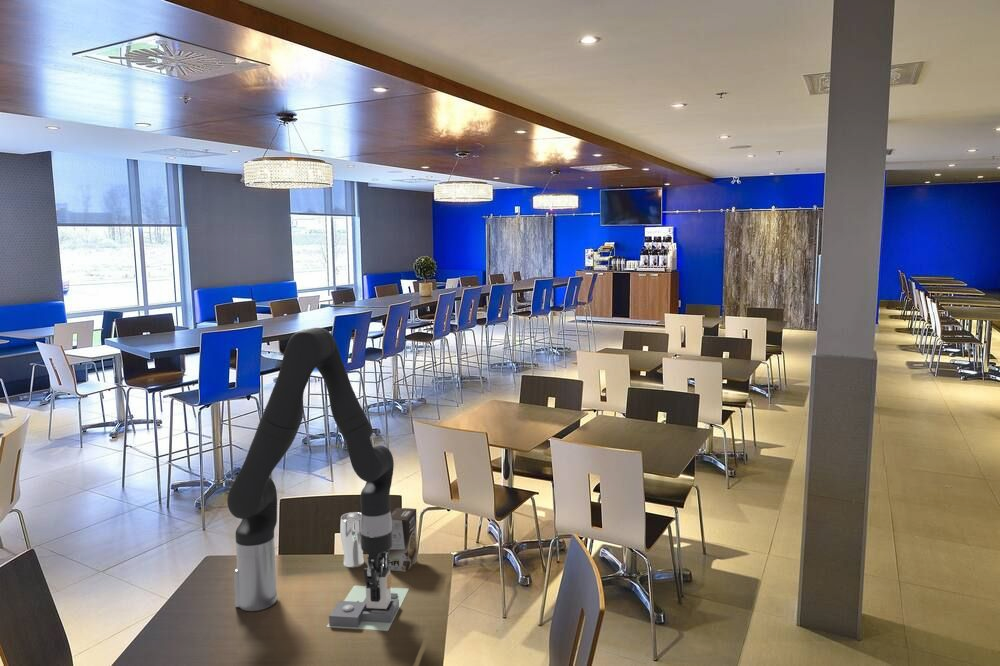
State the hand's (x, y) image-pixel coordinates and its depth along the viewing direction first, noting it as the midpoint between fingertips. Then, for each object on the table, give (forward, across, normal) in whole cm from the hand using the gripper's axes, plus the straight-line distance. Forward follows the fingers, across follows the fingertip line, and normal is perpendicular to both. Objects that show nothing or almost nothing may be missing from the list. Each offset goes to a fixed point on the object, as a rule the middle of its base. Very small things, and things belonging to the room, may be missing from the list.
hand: (378, 595), depth 163 cm
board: (+6, -3, -3) cm, 7 cm away
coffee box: (+6, -27, -1) cm, 28 cm away
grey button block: (+5, +1, -7) cm, 8 cm away
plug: (+2, 0, 0) cm, 2 cm away
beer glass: (+6, -26, -15) cm, 31 cm away
